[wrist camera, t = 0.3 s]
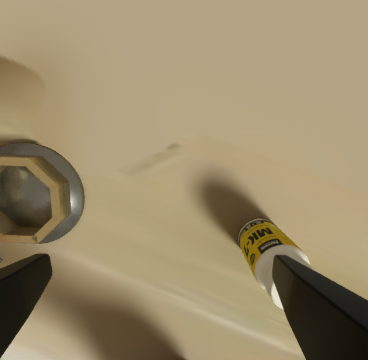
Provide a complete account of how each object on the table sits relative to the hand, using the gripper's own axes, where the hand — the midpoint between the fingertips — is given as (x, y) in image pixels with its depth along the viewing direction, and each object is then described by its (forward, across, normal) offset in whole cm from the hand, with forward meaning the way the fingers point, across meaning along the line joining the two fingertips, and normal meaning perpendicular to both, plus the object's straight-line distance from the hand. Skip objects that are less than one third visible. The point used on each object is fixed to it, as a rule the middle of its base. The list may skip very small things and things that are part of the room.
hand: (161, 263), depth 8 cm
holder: (+14, +16, +2) cm, 21 cm away
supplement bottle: (+15, -9, +7) cm, 19 cm away
